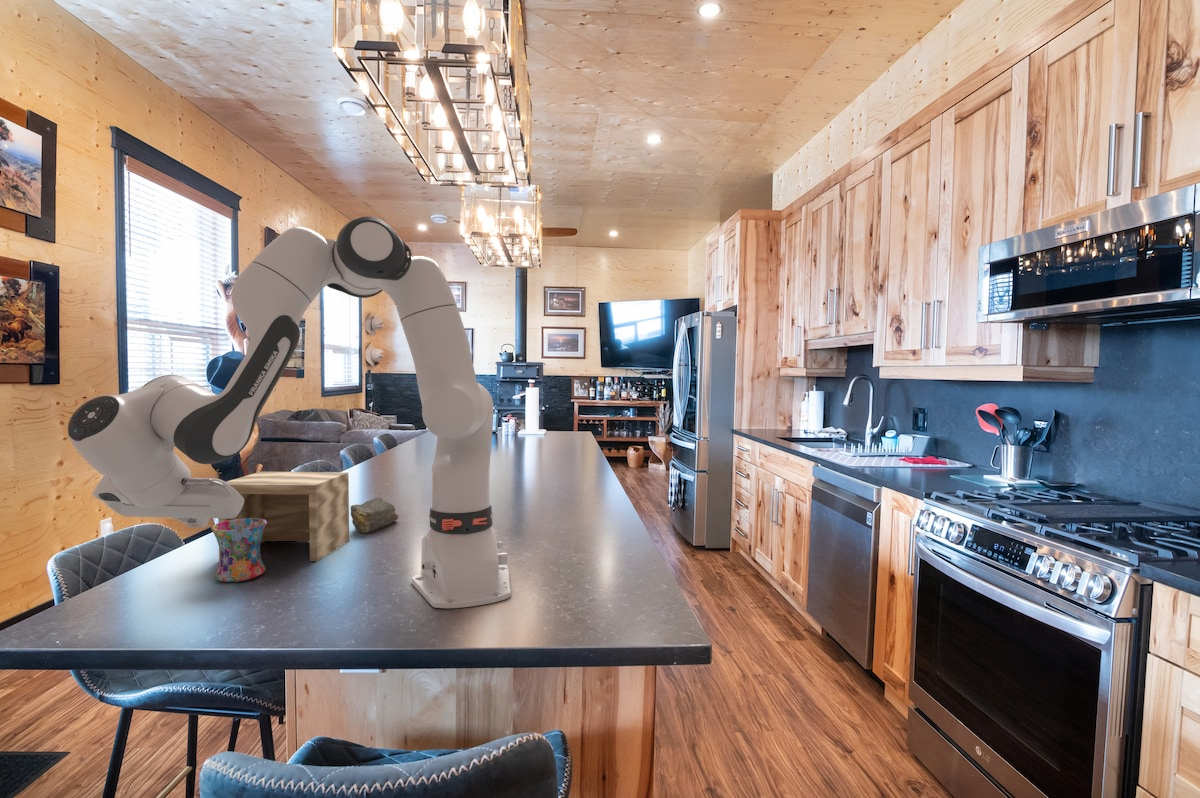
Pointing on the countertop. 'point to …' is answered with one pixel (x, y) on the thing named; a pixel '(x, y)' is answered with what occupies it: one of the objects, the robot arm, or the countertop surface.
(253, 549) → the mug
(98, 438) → the robot arm
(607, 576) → the countertop surface
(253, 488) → the shelf unit
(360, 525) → the rock
